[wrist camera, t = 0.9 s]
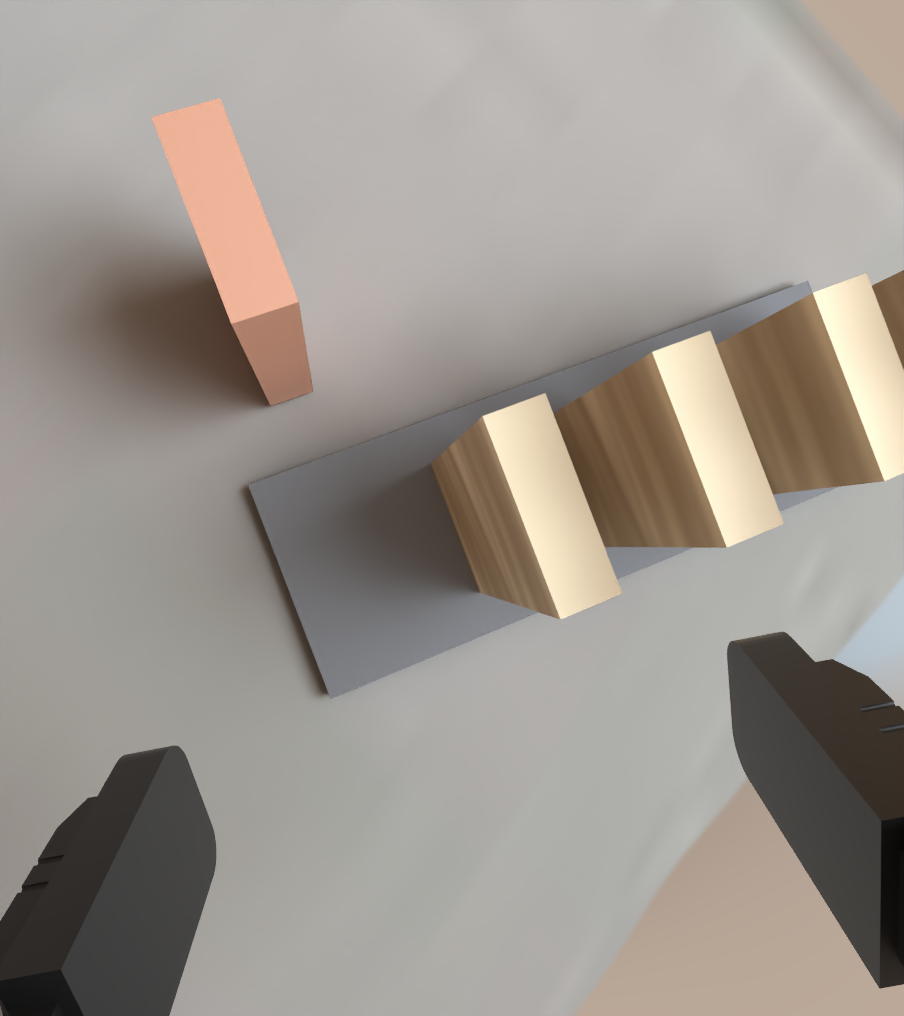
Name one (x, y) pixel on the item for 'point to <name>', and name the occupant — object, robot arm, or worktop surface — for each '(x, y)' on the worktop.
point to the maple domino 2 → (669, 453)
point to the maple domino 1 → (525, 513)
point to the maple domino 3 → (821, 390)
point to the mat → (425, 526)
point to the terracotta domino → (238, 246)
